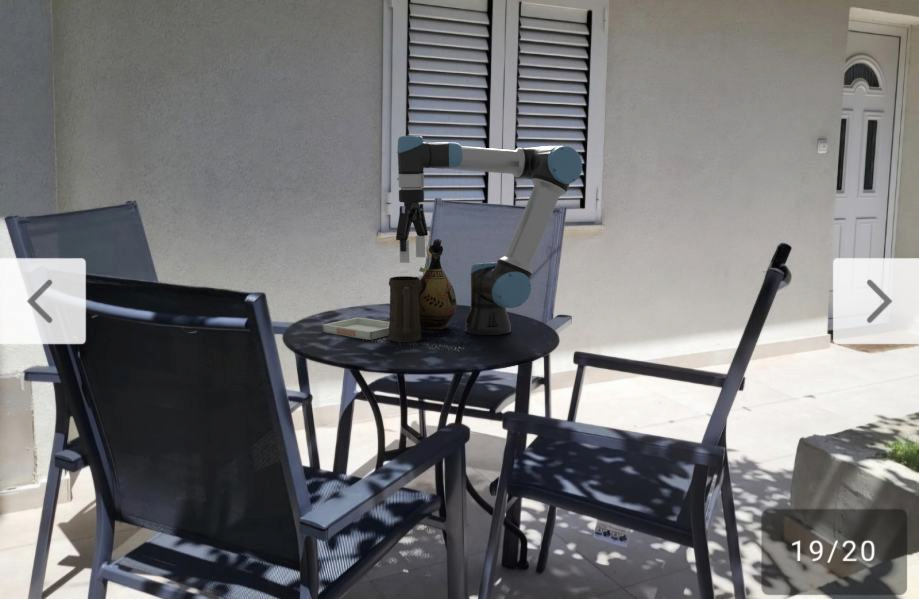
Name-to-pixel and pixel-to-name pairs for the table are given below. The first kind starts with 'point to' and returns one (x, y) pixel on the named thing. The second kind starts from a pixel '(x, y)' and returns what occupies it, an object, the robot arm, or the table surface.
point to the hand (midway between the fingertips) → (412, 259)
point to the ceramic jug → (436, 293)
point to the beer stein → (404, 309)
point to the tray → (358, 328)
